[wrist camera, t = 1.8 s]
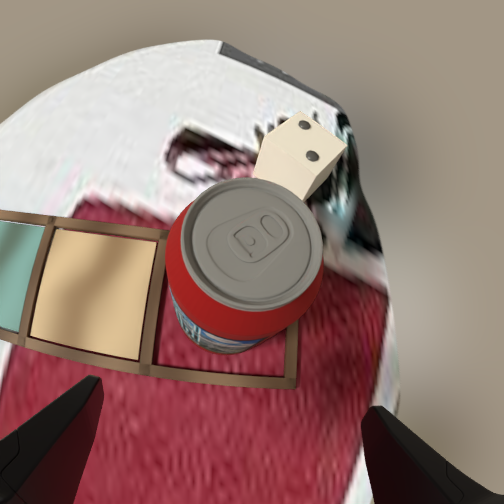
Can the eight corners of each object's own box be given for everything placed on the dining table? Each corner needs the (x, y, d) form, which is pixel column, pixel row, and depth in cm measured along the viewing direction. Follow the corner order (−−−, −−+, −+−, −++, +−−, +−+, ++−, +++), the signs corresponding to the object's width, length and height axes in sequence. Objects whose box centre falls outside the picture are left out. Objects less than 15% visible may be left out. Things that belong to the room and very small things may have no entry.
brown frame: (297, 250, 25) (299, 248, 25) (293, 389, 21) (295, 389, 21) (-26, 208, 21) (-27, 206, 21) (-57, 316, 17) (-60, 315, 16)
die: (296, 210, 27) (317, 174, 22) (252, 174, 28) (264, 135, 23) (326, 179, 29) (348, 144, 24) (285, 147, 30) (300, 109, 25)
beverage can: (157, 299, 22) (126, 216, 11) (231, 248, 24) (263, 141, 14) (216, 375, 21) (241, 371, 10) (288, 317, 23) (371, 256, 12)
